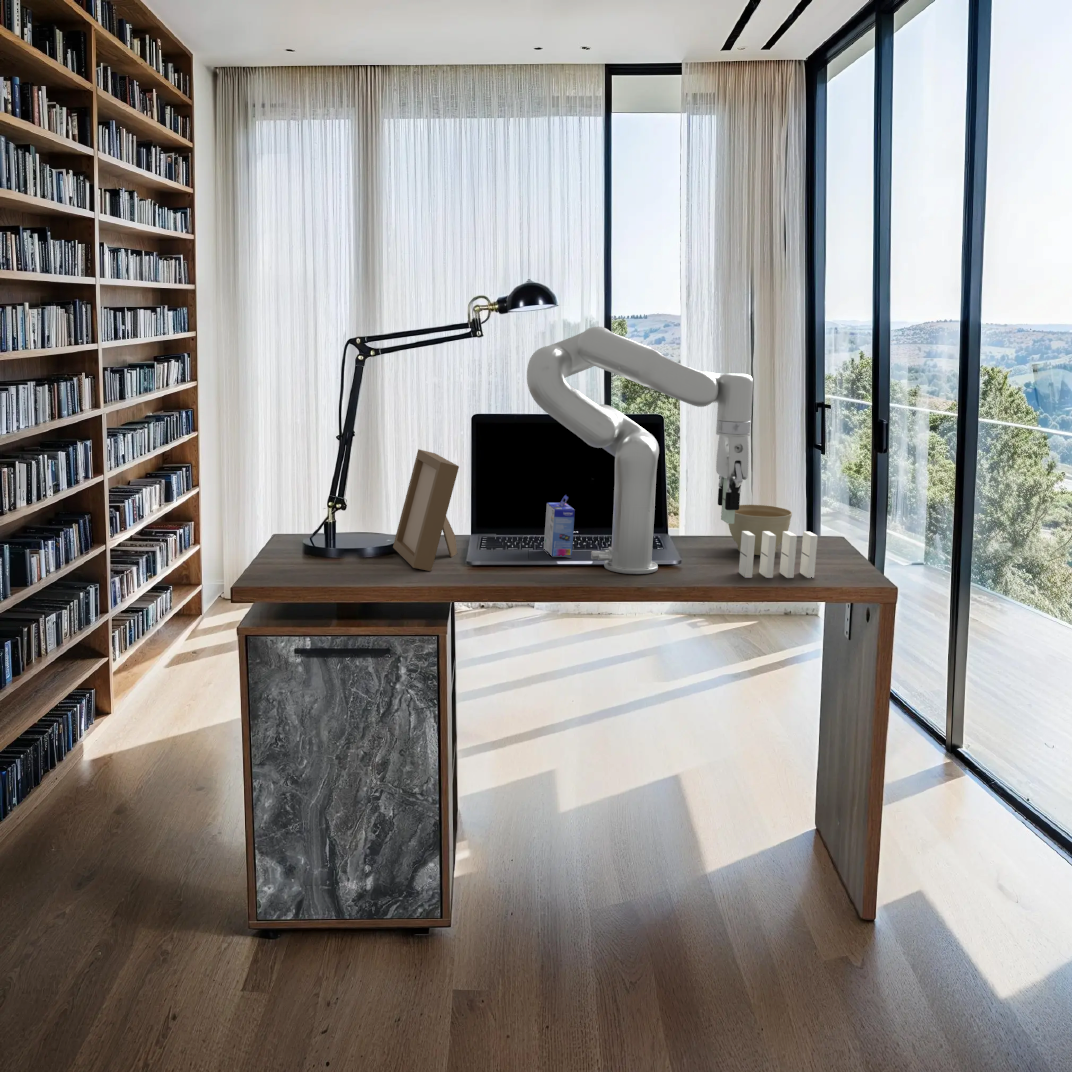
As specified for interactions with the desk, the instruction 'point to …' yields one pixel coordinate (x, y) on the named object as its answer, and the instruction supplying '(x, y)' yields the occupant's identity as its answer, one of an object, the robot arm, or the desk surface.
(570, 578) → the desk surface
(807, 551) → the domino
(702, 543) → the desk surface
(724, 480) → the domino
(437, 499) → the photo frame
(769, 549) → the domino
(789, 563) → the domino
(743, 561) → the domino
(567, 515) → the ink cartridge box
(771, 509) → the planter bowl
